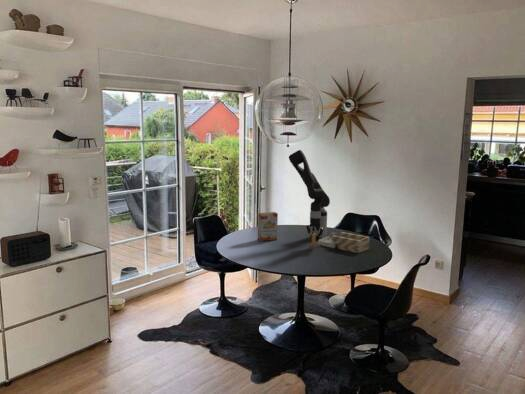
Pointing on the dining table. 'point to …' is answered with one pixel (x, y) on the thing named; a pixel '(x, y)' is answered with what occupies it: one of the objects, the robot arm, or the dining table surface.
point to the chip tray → (327, 242)
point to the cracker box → (267, 226)
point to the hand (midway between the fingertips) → (314, 240)
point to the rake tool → (314, 242)
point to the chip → (332, 234)
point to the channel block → (351, 242)
